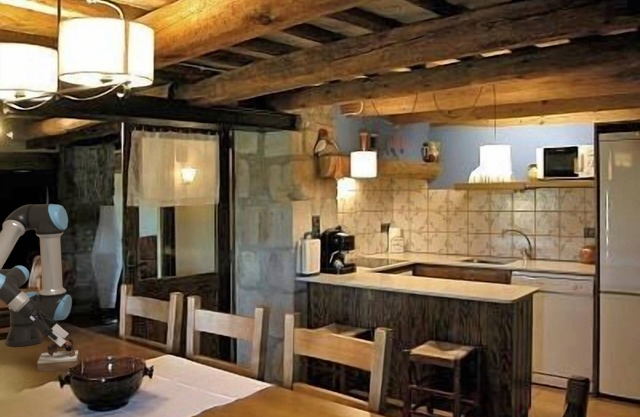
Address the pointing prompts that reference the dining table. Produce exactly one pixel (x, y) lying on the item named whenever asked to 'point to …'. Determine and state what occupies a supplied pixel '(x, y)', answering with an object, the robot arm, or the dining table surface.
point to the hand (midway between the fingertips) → (64, 340)
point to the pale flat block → (57, 361)
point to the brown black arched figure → (67, 345)
